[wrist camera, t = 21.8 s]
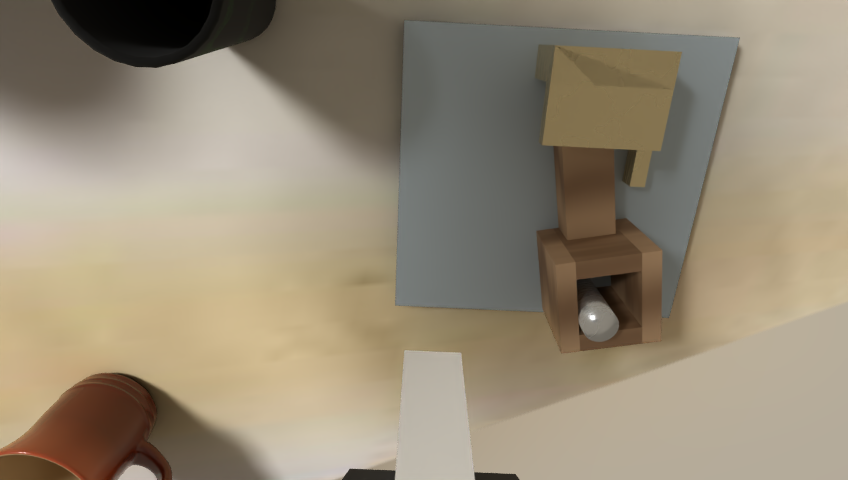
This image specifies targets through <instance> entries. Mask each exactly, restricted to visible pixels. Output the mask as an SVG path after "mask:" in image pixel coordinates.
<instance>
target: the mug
mask: <svg viewBox="0 0 848 480" xmlns="http://www.w3.org/2000/svg"><path fill="white" fill-rule="evenodd" d="M156 416H157V409H156V406H155V403H154V401H153V399H152V397H151V396H150V394H149V393H148V392H147V390H146V389H145V388H144V387H142V386H141V385H140V384H139V383H137V382H136V381H134V380H132V379H130V378H128V377H125V376H122V375H118V374H113V373H101V374H95V375H92V376H89V377H87V378H85V379H84V380H82V381H80V382H79V383H77V384H75V385H74V386H73V387H72V388H70V389H69V390H67V391H66V392H64V393H63V394H62V395H61V397H60V398H59V399H58V400H57V401H56V402H55V403H54V404H53V405H52V406H51V407H50V408H49V409H48V410H47V411H46V412H45V413H44V414H43V415H42V416H41V417H40V419H39V420H38V421H37V422H36V423H35V424H34V425H33V426H32V427H31V428H30V429H29V430H28V431H27V432H26V433H25V434H24V435H22V436H21V437H20V438H18V439H17V440H15V441H14V442H12V443H10V444H9V445H7V446H5V447H3V448H2V449H0V480H118V479H119V477H120V476H121V475H122V474H123V473H124V471H125V470H126V469H127V468H128V467H130V466H132V465H139V466H143V467H145V468H148V469H149V470H151V471H152V472H153V473H154V474H155V476H156V478H157V480H172V470H171V467H170V465H169V463H168V461H167V460H166V459H165V457H164V456H163V455H162V454H161V453H160V452H159V451H158V449H157V448H156V447H154V446H153V445H152V444H150V443H149V442H147V440H148V437H149V435H150V434H151V432H152V429H153V426H154V424H155V421H156Z"/></svg>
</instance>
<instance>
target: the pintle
mask: <svg viewBox="0 0 848 480" xmlns="http://www.w3.org/2000/svg"><path fill="white" fill-rule="evenodd" d="M576 282H577V301H578V320H579V325H580V327H581V329H582V331H583V332H584V334H585V336H586V337H587V338H588V339H590V340H592V341H595V342H603V341H606V340H609V339H610V338H612V337H613V336H614V335H615V334H616V332H617V331H618V328H619V321H618V319H617V317H616V315H615V314H614V313H613V311H612V310H611V308H610V307H609V305H608V304H607V302H606V301H605V299H604V298H603V296H602V295H601V294H600V292H599V291H598V289H597V288H596V286H595V285H594V283H593V282H592V280H591V279H590V278H586V279H579V280H576Z"/></svg>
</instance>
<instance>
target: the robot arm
mask: <svg viewBox="0 0 848 480" xmlns="http://www.w3.org/2000/svg"><path fill="white" fill-rule="evenodd" d="M342 480H519V479H518V477H517V476H516V474H498V473H475V472H474V467H473V458H472V449H471V440H470V430H469V421H468V412H467V403H466V393H465V384H464V375H463V366H462V357H461V353H457V352H434V351H412V350H404V363H403V377H402V391H401V404H400V418H399V432H398V446H397V459H396V471H391V470H367V469H349V471H348V472H347V473H346V475H345V476H344V478H343V479H342Z"/></svg>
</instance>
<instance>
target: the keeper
mask: <svg viewBox="0 0 848 480" xmlns="http://www.w3.org/2000/svg"><path fill="white" fill-rule="evenodd" d="M681 55H682V52H677V51H658V50H639V49H619V48H600V47H581V46H561V45H539V46H538V54H537V63H536V71H535V78H537V79H540V80H543V81H545V82H546V89H545V97H544V105H543V113H542V120H541V128H540V136H539V143H540V144H541V145H546V146H566V147H586V148H607V149H627V150H628V154H627V159H626V164H625V170H624V175H623V180H622V181H623V182H624V183H626V184H627V185H628V186H630V187H645V183H646V178H647V174H648V169H649V164H650V159H651V155H652V151H661V147H662V142H663V138H664V133H665V129H666V124H667V119H668V115H669V110H670V106H671V101H672V96H673V92H674V87H675V82H676V78H677V73H678V69H679V64H680V59H681Z"/></svg>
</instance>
